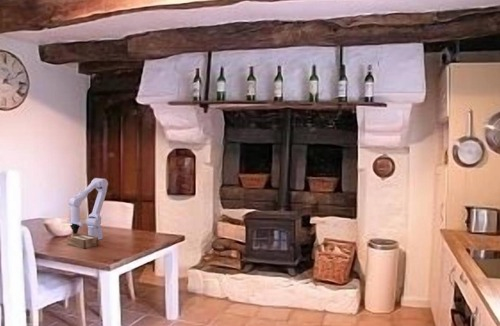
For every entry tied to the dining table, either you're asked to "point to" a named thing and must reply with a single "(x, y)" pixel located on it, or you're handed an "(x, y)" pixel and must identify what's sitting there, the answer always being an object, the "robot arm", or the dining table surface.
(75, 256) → the dining table surface
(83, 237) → the lid
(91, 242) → the keepsake box
